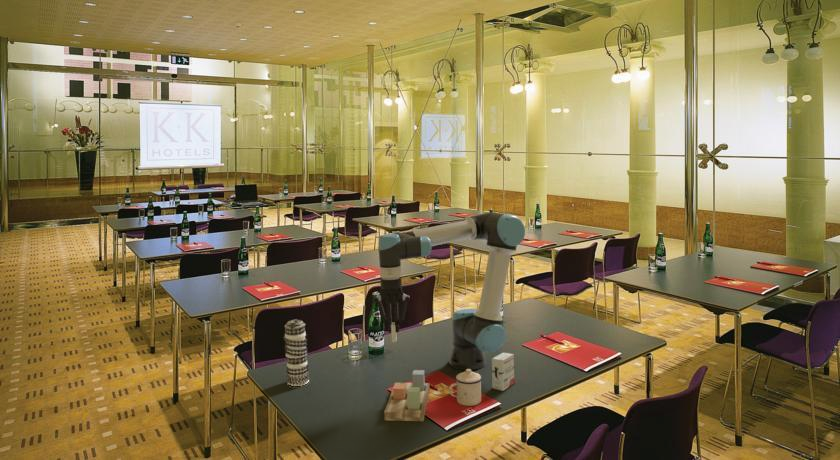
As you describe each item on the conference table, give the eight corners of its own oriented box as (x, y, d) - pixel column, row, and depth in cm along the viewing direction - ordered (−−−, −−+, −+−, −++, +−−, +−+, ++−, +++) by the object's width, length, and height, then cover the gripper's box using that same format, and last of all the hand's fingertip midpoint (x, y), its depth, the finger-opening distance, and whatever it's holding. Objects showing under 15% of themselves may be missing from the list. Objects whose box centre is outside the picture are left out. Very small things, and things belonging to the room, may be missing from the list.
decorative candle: (289, 378, 225) (285, 318, 222) (312, 377, 225) (309, 317, 221) (283, 387, 216) (279, 325, 212) (307, 387, 216) (303, 324, 212)
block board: (429, 390, 209) (429, 383, 209) (423, 421, 186) (423, 412, 185) (395, 390, 211) (395, 382, 210) (384, 420, 187) (384, 411, 187)
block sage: (420, 404, 192) (420, 387, 191) (419, 409, 188) (418, 392, 187) (409, 404, 192) (408, 387, 191) (407, 409, 188) (406, 392, 187)
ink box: (503, 380, 216) (503, 351, 215) (514, 383, 213) (514, 354, 212) (491, 388, 210) (491, 357, 208) (502, 391, 207) (502, 360, 205)
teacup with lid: (475, 393, 205) (475, 363, 204) (485, 404, 197) (485, 372, 195) (445, 398, 202) (444, 368, 200) (454, 409, 193) (453, 377, 192)
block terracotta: (406, 400, 200) (405, 384, 199) (404, 405, 196) (404, 388, 195) (395, 400, 200) (394, 384, 200) (393, 405, 197) (392, 388, 196)
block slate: (424, 386, 206) (424, 370, 206) (423, 390, 203) (423, 374, 202) (414, 386, 207) (413, 370, 206) (412, 390, 203) (412, 374, 202)
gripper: (371, 280, 197) (375, 344, 200) (408, 279, 196) (411, 344, 199) (374, 275, 204) (378, 337, 207) (409, 274, 203) (413, 336, 206)
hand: (394, 340), depth 203 cm, fingers closed
